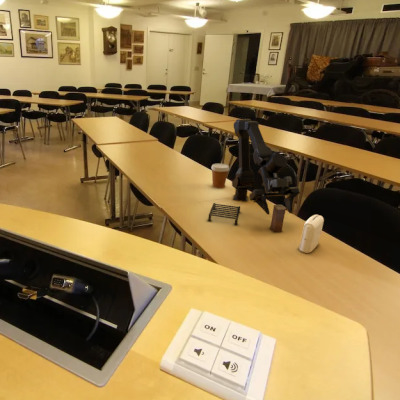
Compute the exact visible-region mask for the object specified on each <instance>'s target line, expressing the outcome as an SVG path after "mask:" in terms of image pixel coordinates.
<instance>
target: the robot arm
mask: <svg viewBox="0 0 400 400" xmlns="http://www.w3.org/2000/svg"><path fill="white" fill-rule="evenodd" d="M233 131H234V134H235V136H236V137H237V138H238V140H237V141H238V169H237V171H236V172H235V178H234V179H233V180H232V181H231V186H232V188H234V190H235V191H234V195H233V201H241V202H248V198H249V201H250V202H253V203H256V204H257V205H258V206H259V207H260V208H261V209H262V210H263V211H264V213H265V214H266V215H270V214H271V213H270V209H269V205H268V203H267V197H283V198H284V199H283V201H284V204H285V207H286V210H287V211H288V213H289V214H292V213H293V205H294V200H295V198H296V197H297V196H298V195H299V194H301V191H300V188H299V187H297V186H292V187H290V185H292V184H293V179H292V177H291V176H290V175H289V176H284V177H283V178H280V176H278V173H279V172H280V171H281V170H282V169H284V168H285V167H286V165H287V164H288V159H287V158H286V156H284V155H283V154H282V153H280V151H273V150H272V148H271V147H269V146H268V145H267V144H266V142H265V139H264V137H263V134H262V132H261V130H260V125H259V121H256V120H252V119H250V118H238V119H236V120H235V121H234V122H233ZM250 142H251V145H252V148H253V154H252V158H253V162H254V164H255V165H257V166H261V167H259V169H258V171H257V173H258V174H260V176H261V180H262V183H261V186H262V187H264V189H263V188H256V189H255V188H254V189H253V186H254V184H255V181H256V179H255V171H254V170H252V168H251V165H250V164H251V163H250V161H251V159H250ZM285 188H286V189H285ZM249 189H253V190H252V191H251V193H249V196H248V192H249V191H248V190H249Z"/></svg>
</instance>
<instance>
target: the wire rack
mask: <svg viewBox="0 0 400 400" xmlns="http://www.w3.org/2000/svg"><path fill="white" fill-rule="evenodd" d="M240 213H241V206H240V205H238V206H236V205H235V206H234V205H227V204H220V203H216V202H213V203H212V206H211V208H210V210H209V213H208V218H207V222H211V221H212V217H219V218H224V219H225V218H226V219H233V220H234V226H238V222H239V221H238V220H239V215H240Z"/></svg>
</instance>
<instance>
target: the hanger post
mask: <svg viewBox="0 0 400 400" xmlns="http://www.w3.org/2000/svg"><path fill="white" fill-rule="evenodd" d="M286 210H287V207H286V206H284V205H283V204H273V209H272V215H271V220H270V226H269V229H270V230H271V231H272V232H273V233H281V232H283V227H284V226H283V225H284V220H285V215H286Z"/></svg>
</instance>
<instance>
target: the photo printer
mask: <svg viewBox="0 0 400 400" xmlns="http://www.w3.org/2000/svg"><path fill="white" fill-rule="evenodd" d="M324 222H325V218H324V217H323V216H322V215H319V214H313V215H311V216H310V217H309V218H308V219H307V220H305V222H304V225H303V228H302V232H301V238H300V242H299V245H298V249H299V251H300V252H302V253H306V254H308V253H311V252H313V251H314V250H315V248H316V247H317V246H318V245H319V242H320V239H321V235H322V230H323V226H324Z"/></svg>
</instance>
